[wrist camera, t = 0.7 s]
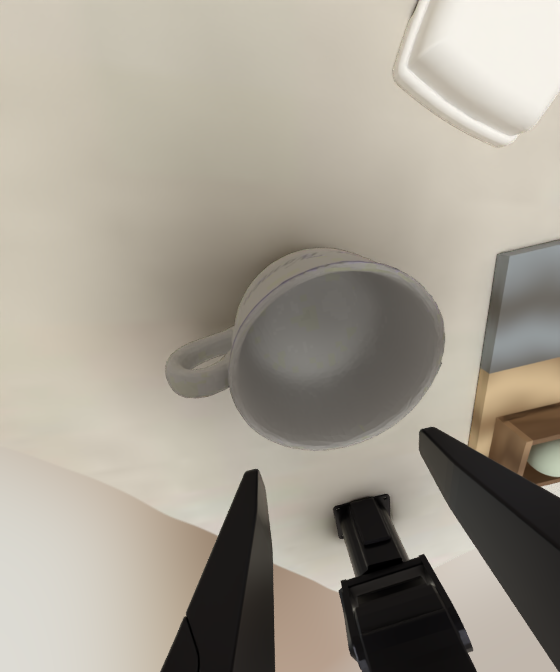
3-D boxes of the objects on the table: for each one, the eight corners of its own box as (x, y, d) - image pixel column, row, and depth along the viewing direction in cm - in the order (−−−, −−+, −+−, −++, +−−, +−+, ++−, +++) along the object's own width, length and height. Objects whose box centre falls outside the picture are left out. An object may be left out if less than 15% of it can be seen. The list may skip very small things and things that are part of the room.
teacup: (395, 252, 18) (489, 277, 11) (356, 382, 23) (406, 460, 16) (187, 224, 16) (140, 232, 9) (189, 373, 21) (157, 458, 13)
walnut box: (549, 451, 28) (581, 476, 26) (486, 466, 28) (511, 493, 25) (567, 400, 25) (605, 422, 22) (496, 417, 25) (526, 442, 22)
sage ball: (543, 448, 27) (584, 480, 24) (509, 456, 27) (545, 490, 24) (552, 422, 25) (596, 452, 22) (516, 430, 25) (555, 463, 22)
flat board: (550, 450, 30) (559, 457, 29) (464, 470, 30) (471, 478, 29) (629, 223, 19) (647, 223, 18) (497, 254, 19) (509, 256, 18)
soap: (380, 84, 15) (409, 56, 12) (453, -92, 12) (509, -174, 10) (497, 157, 17) (543, 147, 14) (578, 21, 15) (651, -21, 12)
